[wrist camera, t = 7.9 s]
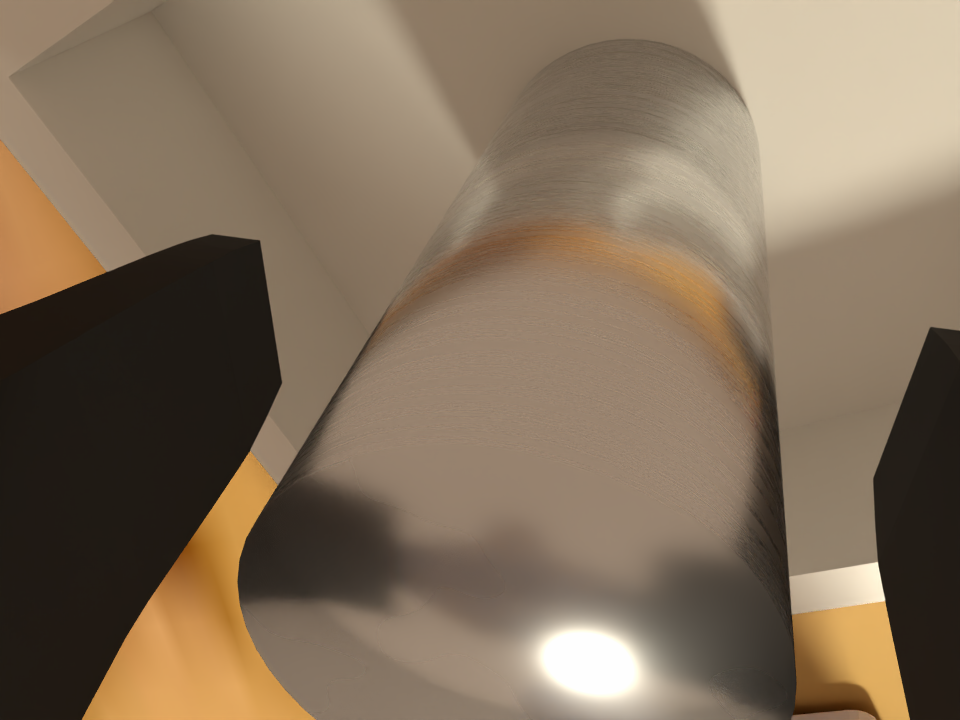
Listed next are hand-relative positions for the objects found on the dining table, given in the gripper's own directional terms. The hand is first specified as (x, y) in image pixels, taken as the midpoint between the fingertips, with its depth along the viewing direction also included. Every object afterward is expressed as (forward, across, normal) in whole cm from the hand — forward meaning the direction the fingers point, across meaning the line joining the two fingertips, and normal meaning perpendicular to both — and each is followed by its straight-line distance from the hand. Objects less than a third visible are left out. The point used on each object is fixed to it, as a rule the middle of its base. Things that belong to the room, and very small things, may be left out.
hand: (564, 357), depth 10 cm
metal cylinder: (+5, 0, 0) cm, 5 cm away
